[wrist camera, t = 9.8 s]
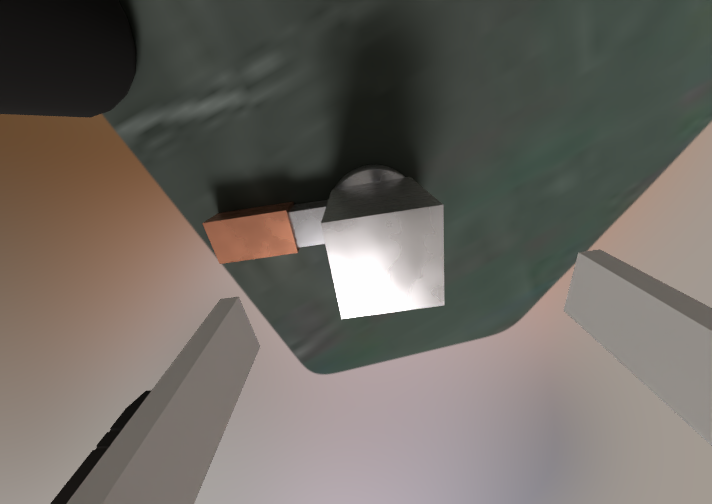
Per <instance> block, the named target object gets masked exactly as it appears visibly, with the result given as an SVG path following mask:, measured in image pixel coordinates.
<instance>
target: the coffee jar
mask: <svg viewBox="0 0 712 504" xmlns="http://www.w3.org/2000/svg"><path fill="white" fill-rule="evenodd" d="M135 73H136V48H135V44H134V40H133V36H132V32H131V28H130V24H129V21H128V19H127V17H126V15H125V13H124V11H123V9H122V7H121V5H120V3H119V1H118V0H0V114H20V115H43V116H69V117H93V116H95V115H99V114H101V113H104V112H107V111H110V110H111V109H113V108H114V107H115V106H116V105H117V104H118V103H119V102H120V101H121V100H122V99H123V98H124V97H125V96H126V95H127V93H128V91H129V89H130V86H131V83H132V81H133V78H134V75H135Z"/></svg>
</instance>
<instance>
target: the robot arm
mask: <svg viewBox="0 0 712 504" xmlns="http://www.w3.org/2000/svg"><path fill="white" fill-rule="evenodd" d="M564 312H566V313H567V314H568V315H569V316H570V317H571V318H572V319H573V320H575V322H576V323H578V324H579V325H580V326H581V327H582V328H583V329H584V330H585V331H586V332H588V333H589V334H590V335H591V336H592V337H593V338H594V339H595V340H597V342H599V343H600V344H601V345H602V346H603V347H604V348H605V349H606V350H607V351H608V352H609V353H610V354H612V355H613V356H614V357H615V358H616V359H617V360H618V361H619V362H620V363H621V364H623V365H624V366H625V367H626V368H627V369H628V370H629V371H630V372H631V373H633V374H634V375H635V376H636V377H637V378H638V379H639V380H640V381H641V382H642V383H643V384H644V385H646V386H647V387H648V388H649V389H650V390H651V391H652V392H653V393H654V394H655V395H657V396H658V397H659V398H660V399H661V400H662V401H663V402H664V403H665V404H666V405H668V406H669V407H670V408H671V409H672V410H673V411H674V412H675V413H677V415H679V416H680V417H681V418H682V419H683V420H684V421H685V422H686V423H687V424H688V425H689V426H691V427H692V428H693V429H694V430H695V431H696V432H697V433H698V434H700V436H702V437H703V438H704V439H705V440H706V441H707V442H708V443H709V444H710V445H712V308H710V307H708V306H706V305H705V304H703V303H701V302H699V301H697V300H695V299H693V298H691V297H689V296H687V295H686V294H684V293H682V292H680V291H678V290H676V289H674V288H672V287H670V286H668V285H666V284H665V283H662V282H661V281H659V280H657V279H655V278H653V277H651V276H649V275H648V274H645V273H644V272H642V271H640V270H638V269H636V268H634V267H632V266H630V265H628V264H627V263H625V262H623V261H621V260H619V259H617V258H615V257H613V256H611V255H610V254H608V253H606V252H604V251H602V250H593V251H585V252H578V256H577V260H576V264H575V268H574V272H573V276H572V280H571V284H570V287H569V291H568V296H567V299H566V304H565V307H564ZM259 347H260V345H259V343H258V340H257V338H256V336H255V334H254V331H253V329H252V326H251V324H250V322H249V320H248V317H247V315H246V313H245V310H244V308H243V306H242V303H241V301H240V299H239V297H233V298H225V299H220V300H219V302H218V303H217V305H216V306H215V307H214V309H213V310H212V311H211V312H210V314H209V315H208V317H207V318H206V319H205V320H204V322H203V323H202V324H201V326H200V327H199V328H198V330H197V331H196V333H195V334H194V335H193V336H192V338H191V339H190V340H189V342H188V343H187V344H186V346H185V347H184V348H183V350H182V351H181V352H180V354H179V355H178V356H177V358H176V359H175V360H174V362H173V363H172V364H171V366H170V367H169V368H168V370H167V371H166V372H165V374H164V375H163V376H162V377H161V379H160V380H159V381H158V383H157V384H156V385H155V387H154V388H153V389H152V390H151V391H145V392H144V393H143V394H142V395H141V396H140V397H139V398H137V399H136V400H135V401H134V402H133V403H132V404H131V405H129V406H128V407H127V408H126V409H125V411H124V412H123V413H122V414H121V416H120V417H119V418H118V419H117V421H116V422H115V423H114V424H113V426H112V427H111V428H110V429H111V430H110V432H107V433H106V434H105V436H104V437H103V438H102V439H101V441H100V442H99V443H98V444H97V448H96V449H95V450H93V451H92V452H91V453H90V455H89V456H88V457H87V458H86V460H85V461H84V462H83V463H82V465H81V466H80V467H79V469H78V470H77V471H76V472H75V473H74V475H73V476H72V477H71V479H70V480H69V481H68V482H67V483H66V485H65V486H64V487H63V488H62V490H61V491H60V492H59V494H58V495H57V496H56V497H55V499H54V500H53V501H52V502H51V504H194V502H195V500H196V498H197V495H198V493H199V490H200V488H201V486H202V483H203V480H204V479H205V476H206V474H207V471H208V469H209V467H210V464H211V462H212V459H213V457H214V455H215V452H216V450H217V448H218V445H219V442H220V440H221V438H222V436H223V433H224V431H225V428H226V426H227V424H228V421H229V419H230V417H231V414H232V412H233V409H234V407H235V405H236V402H237V400H238V397H239V395H240V393H241V390H242V388H243V385H244V383H245V381H246V379H247V376H248V374H249V371H250V369H251V367H252V364H253V362H254V360H255V357H256V355H257V352H258V350H259Z"/></svg>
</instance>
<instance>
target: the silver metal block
mask: <svg viewBox="0 0 712 504" xmlns="http://www.w3.org/2000/svg"><path fill="white" fill-rule="evenodd" d="M321 227H322V231H323V236H324V240H325V245H326V249H327V254H328V258H329V263H330V267H331V272H332V276H333V281H334V285H335V290H336V294H337V298H338V303H339V307H340V312H341V316H342V319H343V318H351V317H359V316H366V315H374V314H382V313H389V312H397V311H405V310H412V309H420V308H427V307H435V306H443V305H444V229H443V204H442V203H441V202H439V201H438V200H437V199H436V198H435V197H434V196H432V195H431V194H430V193H429V192H428V191H426V190H425V189H424V188H423V187H422V186H421V185H419V184H418V183H417V182H416V181H415V180H413V179H412V178H411V177H404V178H398V179H392V180H386V181H379V182H373V183H367V184H360V185H354V186H348V187H341V188H335V189H332V191H331V194H330V197H329V200H328V203H327V206H326V209H325V212H324V215H323V218H322V221H321Z"/></svg>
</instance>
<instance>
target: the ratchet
mask: <svg viewBox="0 0 712 504" xmlns="http://www.w3.org/2000/svg"><path fill="white" fill-rule="evenodd" d="M398 178H404V176H403V175H402V174H401V173H400V172H398V171H397V170H395V169H393V168H391V167H388V166H384V165H376V164H372V165H365V166H361V167H358V168H355V169H354V170H352V171H350V172H349V173H347V174H346V175H345V176H344V177H342V178H341V179H340V181H339V182H338V183H337V185H336V186H335V188H341V187H348V186H354V185H360V184H367V183H373V182H379V181H386V180H392V179H398ZM335 188H334V189H335ZM328 200H329V199H328ZM328 200H321V201H315V202H308V203H302V204H296V205H294V203H293V202H287V203H280V204H274V205H268V206H261V207H255V208H248V209H242V210H236V211H229V212H223V213H218V214H216V215H215V216H213V217H212V218H210V219H208V220H207V221H205V222H204V223H203V226H204V228H205V230H206V233H207V235H208V237H209V240H210V242H211V244H212V247H213V249H214V251H215V254H216V256H217V258H218V261H219V263H220V264H223V263H230V262H236V261H243V260H250V259H257V258H264V257H271V256H278V255H285V254H292V253H298V251H299V248H300V247H305V246H312V245H319V244H325V240H324V236H323V231H322V227H321V221H322V218H323V215H324V212H325V209H326V206H327V203H328Z"/></svg>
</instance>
